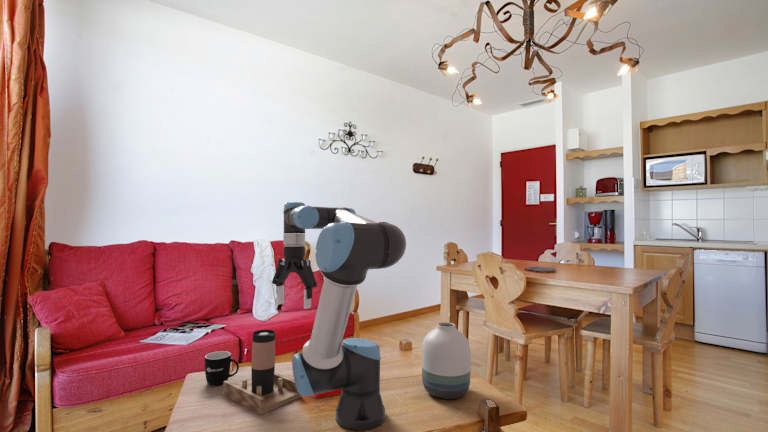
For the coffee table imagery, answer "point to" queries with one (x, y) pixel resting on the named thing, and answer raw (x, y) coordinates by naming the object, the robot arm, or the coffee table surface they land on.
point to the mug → (218, 367)
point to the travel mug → (263, 361)
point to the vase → (446, 362)
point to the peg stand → (256, 402)
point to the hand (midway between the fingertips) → (293, 306)
